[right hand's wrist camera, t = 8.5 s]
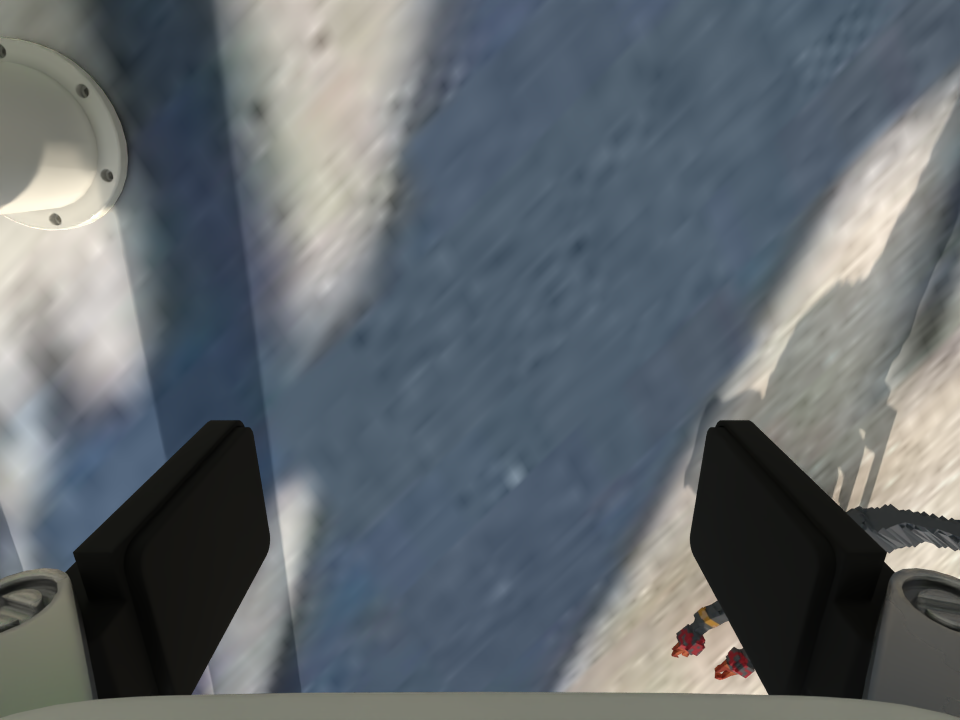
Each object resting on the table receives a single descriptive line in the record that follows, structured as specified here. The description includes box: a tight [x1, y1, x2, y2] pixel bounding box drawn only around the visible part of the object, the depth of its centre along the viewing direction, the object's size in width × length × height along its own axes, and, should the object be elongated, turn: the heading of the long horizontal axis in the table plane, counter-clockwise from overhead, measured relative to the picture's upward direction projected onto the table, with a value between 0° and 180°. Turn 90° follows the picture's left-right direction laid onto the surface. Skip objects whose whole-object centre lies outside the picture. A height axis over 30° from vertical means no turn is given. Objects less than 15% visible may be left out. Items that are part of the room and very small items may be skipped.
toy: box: [672, 504, 960, 680], centre depth 43 cm, size 13×27×18 cm, turn 144°
